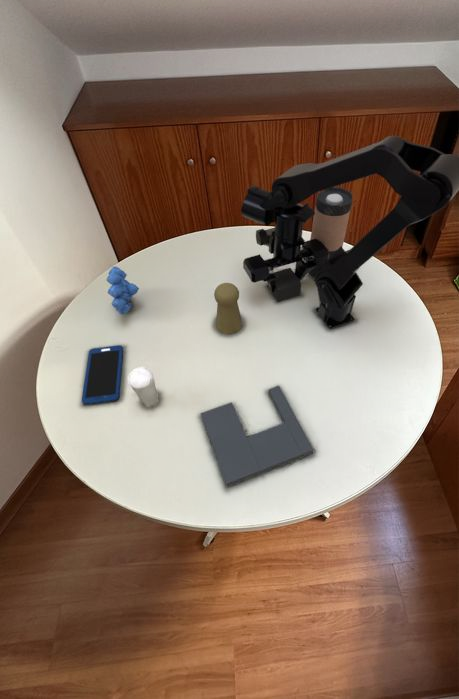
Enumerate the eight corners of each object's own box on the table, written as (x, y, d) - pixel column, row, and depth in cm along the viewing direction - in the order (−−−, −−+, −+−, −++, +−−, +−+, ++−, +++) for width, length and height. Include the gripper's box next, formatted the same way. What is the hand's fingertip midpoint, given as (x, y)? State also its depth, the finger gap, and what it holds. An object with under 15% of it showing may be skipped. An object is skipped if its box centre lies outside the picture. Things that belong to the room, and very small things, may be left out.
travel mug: (339, 279, 91) (357, 205, 75) (307, 280, 91) (319, 206, 75) (334, 260, 95) (349, 185, 80) (304, 261, 96) (314, 187, 80)
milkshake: (155, 416, 70) (142, 388, 62) (134, 403, 72) (119, 375, 64) (169, 398, 73) (159, 369, 65) (149, 386, 74) (136, 357, 67)
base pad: (278, 389, 72) (278, 385, 71) (312, 453, 64) (313, 449, 63) (201, 416, 70) (200, 413, 68) (226, 487, 61) (226, 484, 60)
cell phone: (123, 346, 81) (122, 344, 81) (119, 400, 73) (118, 398, 72) (90, 350, 81) (89, 348, 80) (82, 405, 72) (80, 403, 72)
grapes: (145, 324, 85) (131, 285, 76) (115, 328, 85) (98, 290, 75) (145, 290, 92) (132, 251, 83) (118, 294, 92) (102, 254, 83)
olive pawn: (239, 335, 81) (237, 300, 73) (213, 332, 82) (208, 297, 74) (244, 316, 85) (243, 279, 76) (219, 313, 86) (215, 277, 77)
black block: (289, 279, 92) (290, 267, 89) (300, 295, 88) (301, 282, 85) (267, 286, 91) (267, 274, 88) (277, 302, 87) (278, 289, 84)
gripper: (310, 202, 83) (303, 258, 95) (232, 222, 80) (235, 277, 92) (335, 228, 76) (324, 285, 88) (252, 251, 73) (252, 307, 85)
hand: (283, 287), depth 89 cm, fingers closed on black block, 6 cm apart
